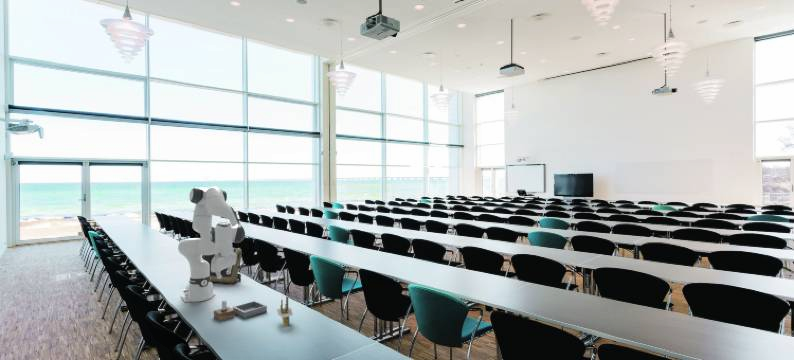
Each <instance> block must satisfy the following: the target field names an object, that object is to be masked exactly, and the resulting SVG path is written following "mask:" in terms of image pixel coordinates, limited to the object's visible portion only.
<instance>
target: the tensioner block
mask: <svg viewBox="0 0 794 360" xmlns="http://www.w3.org/2000/svg"><path fill="white" fill-rule="evenodd" d="M235 316H236V314H235V310H234V309H233V307H232V308H231V307H229V306H227V311H224V312H222V308H219V309H215V310H213V318H214V319H216V320H218V321H219V322H222V321H226V320H229V319H233V318H236V317H235Z"/></svg>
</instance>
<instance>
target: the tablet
mask: <svg viewBox="0 0 794 360" xmlns="http://www.w3.org/2000/svg"><path fill="white" fill-rule="evenodd" d="M236 249H237V252H236V264H235V265H232V269H231V274H226V271H227V269H228V268H226V269H223V270H221V273H220V274H221V275H222V278H221V279H217V275H216V272H211V262H212V259H213V257H214V255H215V254H213V255H201V257H202V259H203V260H205V261H207V262H208V263H209V265H210V276H211V281H210V282H212V283H219V284H231V285H233V284H236V283H238V281H240V282H241V281H242V274H241V273H239V266H240V263H241V260H242V253H243V252H242V248H241V247H237V248H236Z"/></svg>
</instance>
